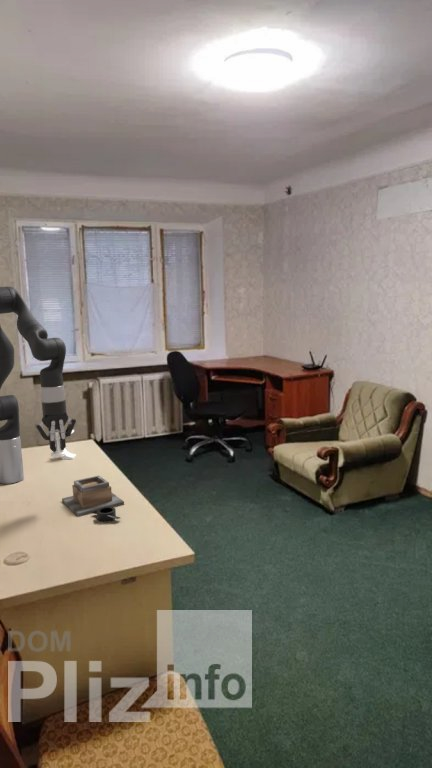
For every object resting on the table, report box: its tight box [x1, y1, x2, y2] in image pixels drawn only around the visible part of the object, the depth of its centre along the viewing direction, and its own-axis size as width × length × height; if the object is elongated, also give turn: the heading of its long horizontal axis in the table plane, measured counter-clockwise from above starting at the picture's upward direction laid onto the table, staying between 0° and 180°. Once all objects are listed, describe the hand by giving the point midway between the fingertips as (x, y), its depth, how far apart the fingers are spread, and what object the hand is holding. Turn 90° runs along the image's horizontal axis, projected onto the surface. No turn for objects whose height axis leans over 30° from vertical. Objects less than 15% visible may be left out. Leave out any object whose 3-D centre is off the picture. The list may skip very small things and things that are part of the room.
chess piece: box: [50, 429, 66, 458], centre depth 178 cm, size 5×5×10 cm
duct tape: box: [92, 507, 121, 523], centre depth 170 cm, size 8×10×3 cm
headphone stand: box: [59, 429, 77, 460], centre depth 234 cm, size 5×6×12 cm
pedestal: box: [61, 475, 125, 517], centre depth 183 cm, size 16×16×8 cm
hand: (58, 450), depth 178 cm, fingers closed on chess piece
